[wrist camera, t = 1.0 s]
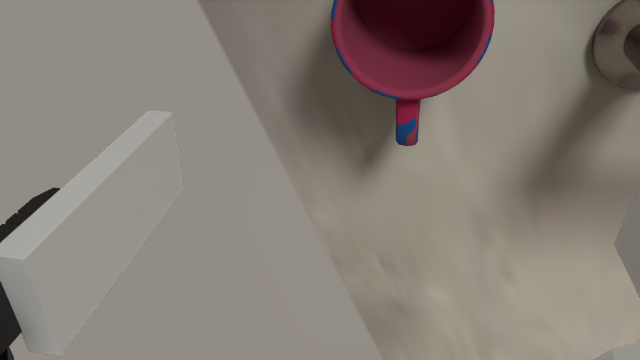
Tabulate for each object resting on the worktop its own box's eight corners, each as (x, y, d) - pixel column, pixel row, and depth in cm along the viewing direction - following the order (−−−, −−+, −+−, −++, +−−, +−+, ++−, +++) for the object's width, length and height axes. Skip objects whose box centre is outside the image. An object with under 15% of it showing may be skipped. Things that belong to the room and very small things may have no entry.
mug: (494, -76, 24) (514, -55, 19) (453, 112, 30) (458, 171, 24) (357, -87, 25) (336, -70, 20) (342, 98, 31) (322, 152, 25)
